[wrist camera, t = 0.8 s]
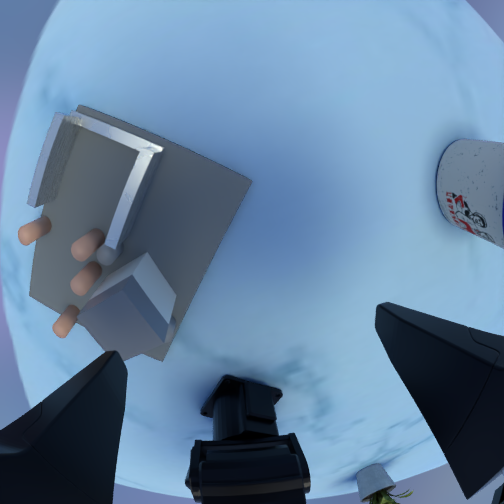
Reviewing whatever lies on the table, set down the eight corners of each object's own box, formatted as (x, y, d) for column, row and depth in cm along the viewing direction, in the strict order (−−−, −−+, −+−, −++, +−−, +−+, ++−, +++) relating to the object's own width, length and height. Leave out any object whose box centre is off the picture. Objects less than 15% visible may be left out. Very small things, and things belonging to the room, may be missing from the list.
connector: (176, 295, 21) (164, 343, 16) (136, 315, 21) (116, 364, 16) (147, 251, 20) (122, 289, 14) (107, 275, 20) (76, 316, 14)
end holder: (129, 235, 19) (115, 249, 16) (48, 195, 17) (26, 203, 15) (166, 148, 17) (156, 147, 15) (77, 111, 16) (57, 107, 13)
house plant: (394, 439, 35) (431, 511, 20) (413, 452, 39) (443, 508, 24) (324, 479, 37) (346, 550, 22) (355, 486, 42) (376, 543, 26)
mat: (163, 357, 24) (162, 361, 23) (32, 292, 20) (29, 295, 20) (251, 180, 19) (252, 181, 19) (82, 105, 16) (78, 104, 15)
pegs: (160, 358, 23) (154, 381, 20) (28, 292, 20) (11, 307, 17) (198, 275, 21) (195, 294, 18) (43, 200, 17) (22, 208, 15)
